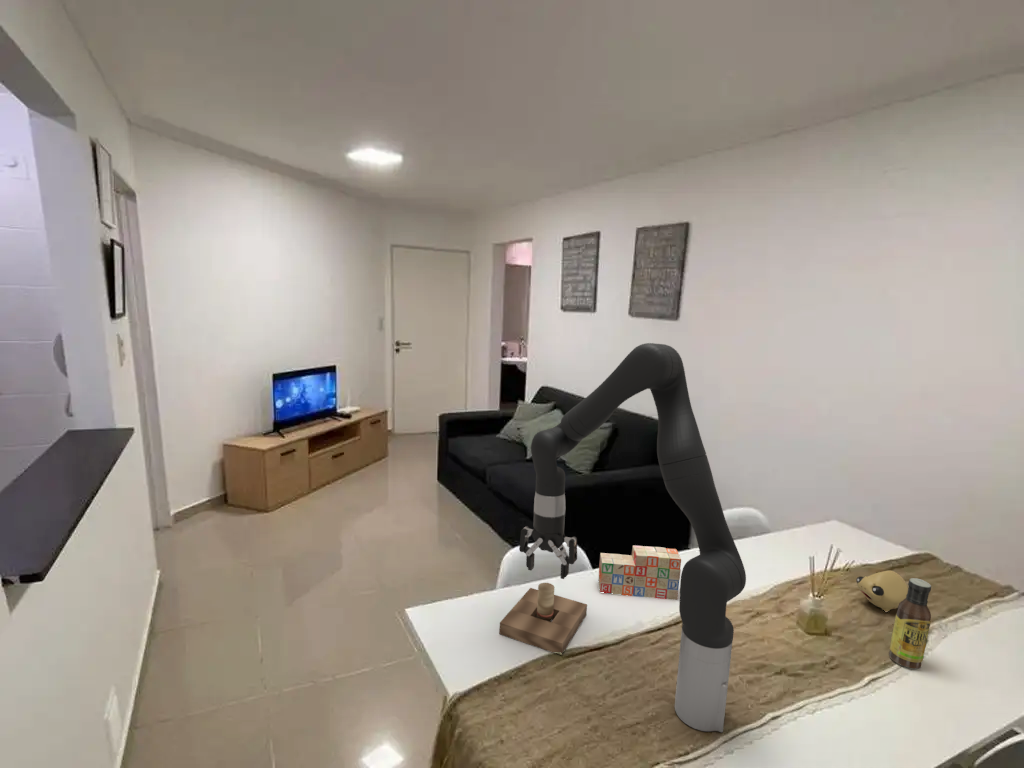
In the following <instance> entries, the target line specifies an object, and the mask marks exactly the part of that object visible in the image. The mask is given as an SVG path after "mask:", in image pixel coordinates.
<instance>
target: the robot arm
mask: <svg viewBox="0 0 1024 768" xmlns="http://www.w3.org/2000/svg"><path fill="white" fill-rule="evenodd" d="M646 390H650V391H651V392H650V393H651V395H652V398H653V402H654V405H655V408H656V413H657V420H658V421H657V423H658V425H657V436H656V437H657V438H656V455H657V459H658V460H657V461H658V465H659V468H660V473H661V476H662V479H663V482H664V485H665V489H666V491H667V492H668V494H669V496H670V497H671V498H672V500H673V501H674V502H675V505H677V506H678V508H679V509H680V510H681V511H682V512H683V514H684V515H685V517H686V518H687V519H688V521H689V523H690V524H691V527H692V529H693V532H694V535H695V538H696V542H697V547H698V551H699V555H697V556H694V557H692V558H690V559H688V561H687V562H686V563H685V564H684V566H683V568H682V570H681V573H680V580H679V604H678V605H679V606H678V609H679V616H680V619H681V632H680V633H681V634H680V643H679V655H678V665H677V667H678V668H677V677H676V687H675V688H676V689H675V695H674V697H675V698H674V712H675V713H676V715H677V717H678V718H679V719H680V720H681V721H682V722H683V723H684V724H685V725H687V726H689V727H690V728H692V729H694V730H698V731H701V732H719V733H723V732H724V725H725V717H726V716H725V714H726V708H727V707H726V706H727V696H728V687H729V678H730V668H731V659H732V650H733V649H732V648H733V641H734V632H735V629H734V628H735V627H734V625H733V623H732V621H731V620H730V619H729V618H728V617H727V605H728V602H730V601H731V600H732V599H734V598H735V597H737V596H738V595H740V594H741V593H742V592H743V590H744V589H745V587H746V584H747V583H746V582H747V575H746V570H745V567H744V566H745V565H744V562H743V561H742V560H743V559H742V557H741V555H740V553H739V549H738V548H737V546H736V543H735V541H734V538H733V536H732V533H731V531H730V528H729V525H728V523H727V520H726V517H725V514H724V510H723V507H722V503H721V500H720V498H719V493H718V491H717V488H716V484H715V481H714V476H713V473H712V470H711V466H710V462H709V459H708V456H707V452H706V449H705V447H704V443H703V440H702V437H701V434H700V431H699V427H698V423H697V420H696V417H695V414H694V411H693V407H692V404H691V403H692V402H691V398H690V394H689V389H688V383H687V378H686V371H685V366H684V363H683V358H682V357H681V355H680V353H679V352H678V351H677V350H676V349H675V348H674V347H673V346H671V345H668V344H663V343H654V342H652V343H651V342H648V343H647V342H646V343H642V344H639V345H638V346H635V347H634V348H633V349H632V350H631V351H630V352H629V353H628V354H627V355H626V356H625V357H624V359H623V360H622V361H621V362H620V363H619V365H618V366H617V367H616V368H615V369H614V370H613V371H611V374H610V375H608V377H606V379H605V380H604V381H603V382H601V384H600V385H598V386H597V387H596V388H595V389H594V390H593V391H592V392H591V393H590V394H588V395H587V396H586V397H585V398H583V399H582V400H581V401H580V402H578V403H577V404H575V405H574V406H573V407H572V408H571V409H570V410H569V411H567V412H566V413H565V414H564V415H563V416H562V417H561V420H560V423H558V424H557V425H556V426H553V427H551V428H547V429H543V430H539V432H537V433H535V435H533V437H532V440H531V442H530V443H531V444H530V452H531V454H530V455H531V458H532V463H533V468H534V471H535V491H534V492H535V493H534V500H533V502H534V503H533V528H530V527H529V525H526V526H525V527H523V528H522V529H521V530H520V536H519V537H520V539H519V552H521V553H524V554H525V556H526V558H525V559H526V561H525V562H526V563H525V564H526V565H525V566H526V568H527V570H528V571H533V569H534V568H535V556H536V555H535V551H536V550H537V549H538V548H539V549H540V551H547V552H549V553H554V555H555V556H556V558H558V559H559V561H560V562H561V565H560V579H562V580H565V579H566V578H567V576H568V575H569V573H570V571H569V570H570V565H574V564H575V562H576V561H577V560H578V538H577V537H576V536H572V537H568V536H566V535H565V521H566V520H565V519H566V518H565V517H566V508H567V507H566V495H565V494H566V492H565V491H566V472H565V471H564V469H563V468H562V467H560V466H558V464H557V459H558V458H560V457H563V456H565V455H566V454H568V453H570V452H571V451H572V450H573V449H575V448H576V446H578V445H579V444H580V443H581V441H582V440H583V439H585V438H586V437H588V436H590V435H591V434H592V433H593V432H595V431H596V430H598V429H599V428H600V427H601V426H603V425H604V424H605V423H606V422H607V421H608V420H609V419H610V417H612V415H613V414H614V413H615V412H616V410H617V409H618V408H619V407H620V406H621V405H622V404H623V403H624V402H625V401H628V399H630V398H632V397H633V396H635V395H639V394H640V393H642V392H644V391H646ZM530 537H532V539H533V540H534V543H533V544H532V545H531V546H530V547H529V538H530ZM564 543H565V544H566V547H567V548H568V553H567V549H566V547H565V546H564Z"/></svg>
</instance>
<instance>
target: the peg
mask: <svg viewBox="0 0 1024 768" xmlns="http://www.w3.org/2000/svg"><path fill="white" fill-rule="evenodd" d="M537 590H538V603H537V618H539V619H542V620H545V621H548V622H552V621H553V620H552V619H553V607H554V595H555V586H554V584H553V583H549V582H540V583H539V584H538V588H537Z"/></svg>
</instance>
